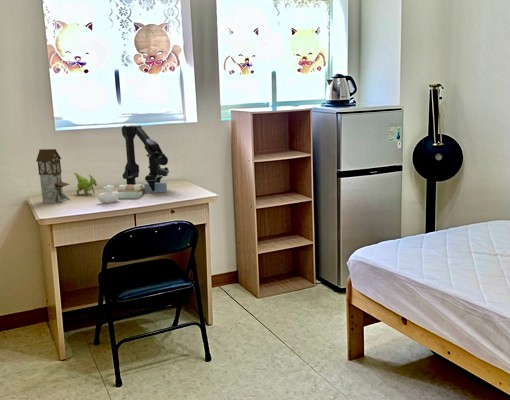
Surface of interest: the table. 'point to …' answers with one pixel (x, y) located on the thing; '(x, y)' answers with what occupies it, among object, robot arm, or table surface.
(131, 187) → the tile
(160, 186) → the long blue block
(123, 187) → the tile
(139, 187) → the tile
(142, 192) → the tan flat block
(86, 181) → the toy
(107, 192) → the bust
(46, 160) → the model building
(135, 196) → the tray
